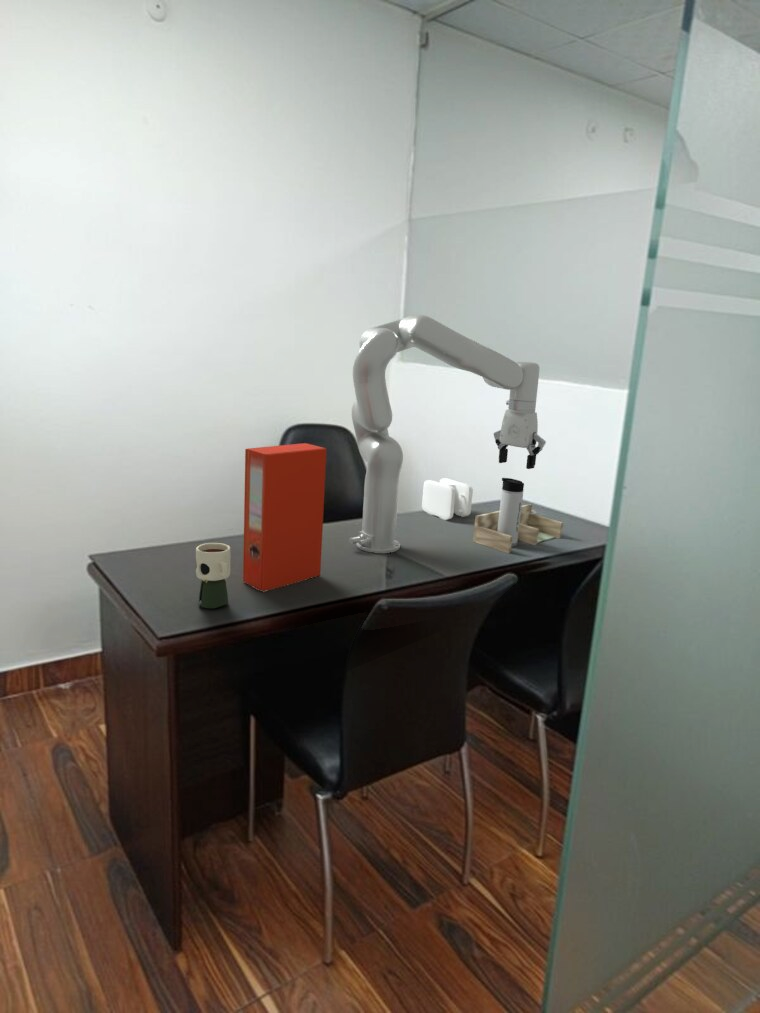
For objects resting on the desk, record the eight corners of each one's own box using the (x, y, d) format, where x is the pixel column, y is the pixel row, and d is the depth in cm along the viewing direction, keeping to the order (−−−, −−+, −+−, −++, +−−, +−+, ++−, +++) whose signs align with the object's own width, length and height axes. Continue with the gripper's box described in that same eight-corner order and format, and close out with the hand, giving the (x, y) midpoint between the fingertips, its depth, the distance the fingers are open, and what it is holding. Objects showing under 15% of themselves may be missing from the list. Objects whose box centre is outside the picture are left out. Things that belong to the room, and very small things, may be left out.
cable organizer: (419, 511, 231) (421, 478, 228) (441, 508, 237) (444, 476, 235) (449, 522, 220) (452, 488, 217) (471, 518, 226) (475, 485, 223)
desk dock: (508, 553, 191) (511, 526, 189) (472, 541, 200) (475, 515, 198) (561, 537, 210) (564, 513, 208) (526, 527, 219) (529, 503, 217)
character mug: (186, 600, 145) (185, 543, 142) (216, 593, 150) (216, 538, 147) (209, 617, 137) (209, 558, 134) (240, 610, 142) (241, 552, 139)
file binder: (321, 576, 164) (326, 448, 156) (263, 593, 152) (266, 454, 144) (300, 567, 169) (304, 442, 161) (243, 582, 157) (244, 448, 149)
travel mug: (492, 540, 203) (499, 475, 198) (513, 540, 204) (520, 476, 199) (498, 546, 197) (505, 480, 192) (519, 547, 198) (527, 481, 193)
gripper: (489, 403, 194) (484, 461, 198) (540, 410, 182) (534, 472, 186) (505, 402, 199) (499, 459, 203) (555, 409, 187) (549, 469, 191)
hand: (516, 465), depth 194 cm, fingers open, 9 cm apart
